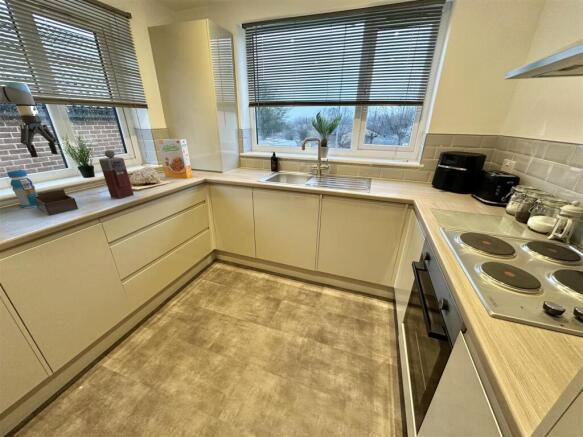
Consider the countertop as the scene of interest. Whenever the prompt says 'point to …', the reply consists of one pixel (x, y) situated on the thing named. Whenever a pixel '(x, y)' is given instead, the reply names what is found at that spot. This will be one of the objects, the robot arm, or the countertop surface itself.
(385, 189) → the countertop surface
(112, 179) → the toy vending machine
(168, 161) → the cereal box
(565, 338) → the countertop surface
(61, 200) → the caddy
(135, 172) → the bread loaf on board
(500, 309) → the countertop surface
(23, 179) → the beverage bottle
